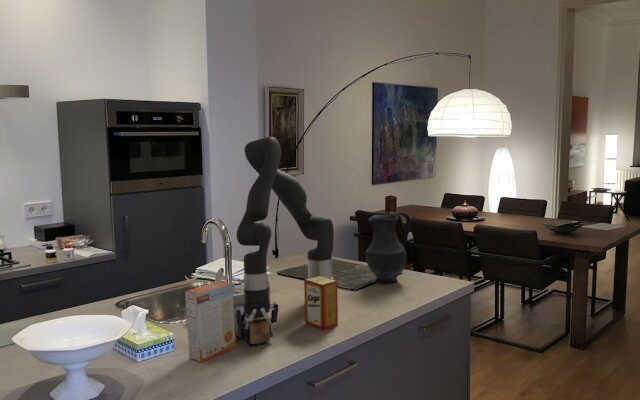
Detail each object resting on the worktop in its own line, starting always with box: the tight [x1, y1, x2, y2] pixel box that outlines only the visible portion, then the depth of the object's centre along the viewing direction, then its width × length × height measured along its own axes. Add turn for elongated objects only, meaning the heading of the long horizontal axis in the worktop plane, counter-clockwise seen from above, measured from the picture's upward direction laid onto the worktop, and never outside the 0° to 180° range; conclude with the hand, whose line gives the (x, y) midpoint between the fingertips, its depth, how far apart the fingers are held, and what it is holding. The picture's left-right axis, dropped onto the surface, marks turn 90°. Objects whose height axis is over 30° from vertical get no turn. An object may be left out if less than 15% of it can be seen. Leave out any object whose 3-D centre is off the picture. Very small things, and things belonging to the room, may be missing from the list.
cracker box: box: [184, 280, 236, 363], centre depth 178 cm, size 14×6×21 cm, turn 141°
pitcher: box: [365, 211, 412, 285], centre depth 255 cm, size 17×21×30 cm
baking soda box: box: [304, 276, 339, 331], centre depth 202 cm, size 10×6×16 cm
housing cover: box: [233, 292, 247, 338], centre depth 196 cm, size 10×11×11 cm
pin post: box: [243, 339, 272, 349], centre depth 187 cm, size 7×7×4 cm
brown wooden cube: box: [248, 317, 271, 344], centre depth 186 cm, size 6×6×6 cm
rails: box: [235, 330, 274, 343], centre depth 197 cm, size 13×14×1 cm
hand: (257, 337), depth 187 cm, fingers closed on brown wooden cube, 6 cm apart
